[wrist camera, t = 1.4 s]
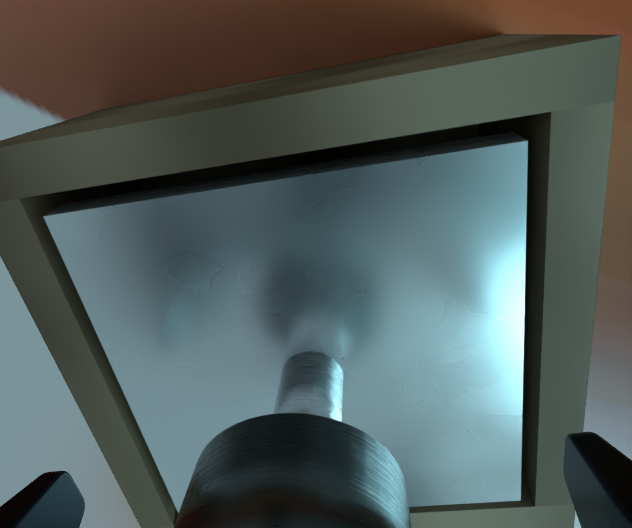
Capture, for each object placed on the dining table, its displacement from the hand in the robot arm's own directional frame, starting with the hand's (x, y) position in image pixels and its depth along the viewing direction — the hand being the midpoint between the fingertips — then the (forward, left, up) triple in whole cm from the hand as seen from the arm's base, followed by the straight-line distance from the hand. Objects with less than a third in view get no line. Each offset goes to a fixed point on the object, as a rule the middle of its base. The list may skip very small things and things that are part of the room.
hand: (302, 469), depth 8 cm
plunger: (0, 0, -3) cm, 3 cm away
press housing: (0, 0, -9) cm, 9 cm away
